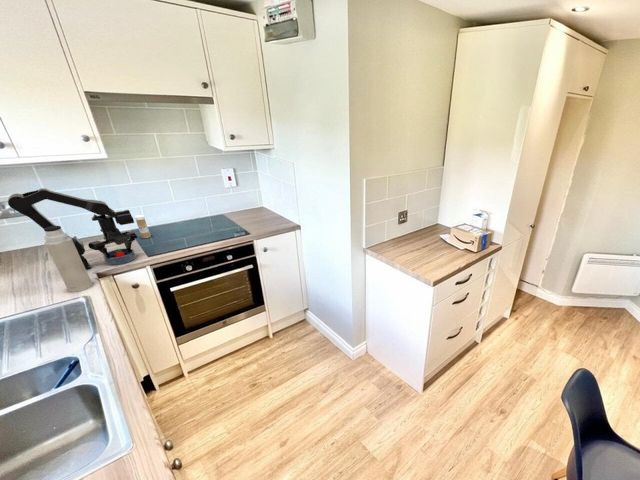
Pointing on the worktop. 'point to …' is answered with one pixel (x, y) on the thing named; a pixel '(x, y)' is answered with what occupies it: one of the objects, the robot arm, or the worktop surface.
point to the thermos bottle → (66, 259)
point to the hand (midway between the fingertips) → (119, 255)
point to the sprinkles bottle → (142, 226)
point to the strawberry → (119, 253)
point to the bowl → (120, 260)
